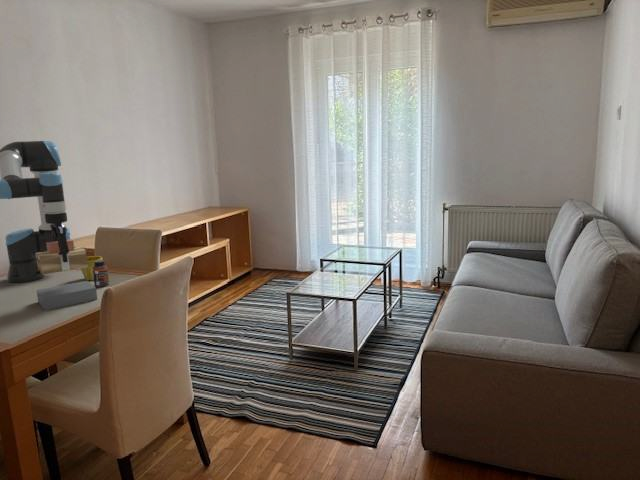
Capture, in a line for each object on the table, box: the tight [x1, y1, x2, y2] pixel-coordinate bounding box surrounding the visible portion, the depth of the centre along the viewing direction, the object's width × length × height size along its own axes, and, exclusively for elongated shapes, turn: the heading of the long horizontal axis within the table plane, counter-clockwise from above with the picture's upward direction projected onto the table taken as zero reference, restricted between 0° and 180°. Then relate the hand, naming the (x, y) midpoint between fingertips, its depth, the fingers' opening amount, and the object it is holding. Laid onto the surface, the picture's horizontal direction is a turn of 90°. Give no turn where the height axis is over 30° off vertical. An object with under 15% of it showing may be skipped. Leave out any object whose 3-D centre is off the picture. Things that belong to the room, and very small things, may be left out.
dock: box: [36, 280, 98, 311], centre depth 192 cm, size 14×19×5 cm
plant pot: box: [80, 255, 103, 281], centre depth 224 cm, size 10×10×10 cm
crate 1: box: [46, 241, 60, 254], centre depth 186 cm, size 4×4×4 cm
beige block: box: [36, 246, 88, 276], centre depth 189 cm, size 10×16×7 cm, turn 129°
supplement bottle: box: [93, 260, 110, 288], centre depth 211 cm, size 6×6×11 cm
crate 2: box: [67, 238, 75, 251], centre depth 189 cm, size 4×4×4 cm
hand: (63, 267), depth 189 cm, fingers closed on beige block, 10 cm apart
